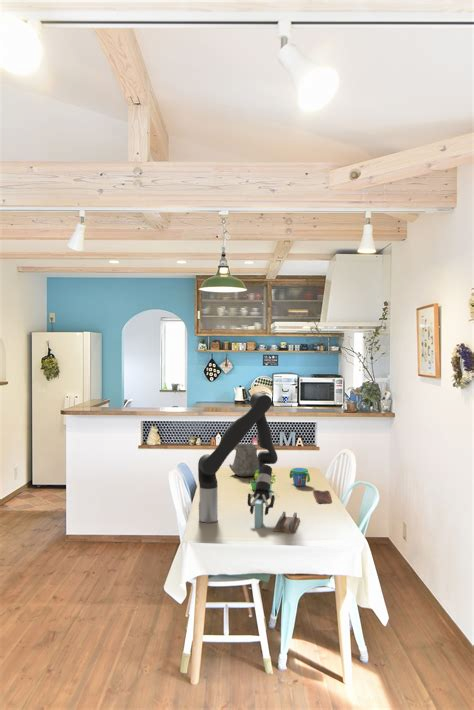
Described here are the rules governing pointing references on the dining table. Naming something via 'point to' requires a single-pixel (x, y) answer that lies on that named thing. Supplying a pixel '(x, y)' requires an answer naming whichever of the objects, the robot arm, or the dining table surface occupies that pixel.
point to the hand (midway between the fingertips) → (258, 514)
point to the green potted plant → (253, 483)
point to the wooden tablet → (322, 497)
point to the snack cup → (299, 476)
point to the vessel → (245, 460)
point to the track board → (287, 523)
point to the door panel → (258, 513)
